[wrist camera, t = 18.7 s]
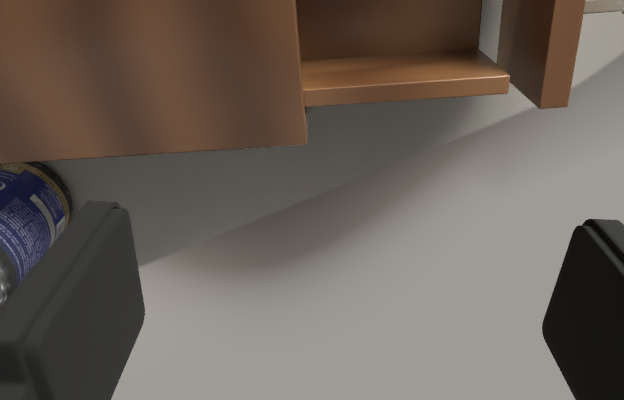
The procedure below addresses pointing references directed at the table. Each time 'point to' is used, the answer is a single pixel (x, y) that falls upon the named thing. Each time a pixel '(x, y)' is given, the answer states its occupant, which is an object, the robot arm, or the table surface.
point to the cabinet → (148, 77)
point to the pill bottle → (28, 219)
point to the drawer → (438, 49)
